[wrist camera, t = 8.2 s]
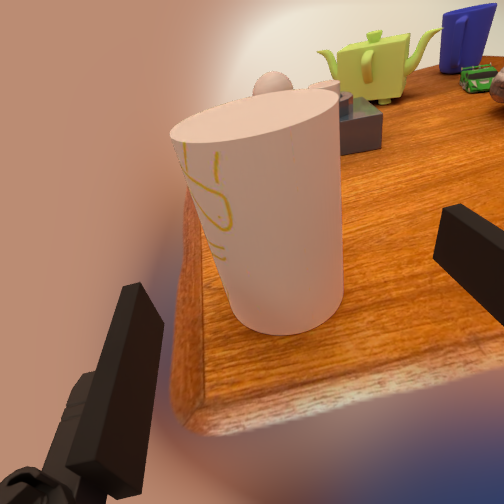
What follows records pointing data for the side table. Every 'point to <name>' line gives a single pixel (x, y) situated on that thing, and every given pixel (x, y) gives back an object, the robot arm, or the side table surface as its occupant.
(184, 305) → the side table surface
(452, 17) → the mug
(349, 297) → the side table surface
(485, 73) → the toy car
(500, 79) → the decorative stone
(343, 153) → the push button box
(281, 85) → the bath bomb
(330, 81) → the button
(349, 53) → the teapot
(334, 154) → the doodled pink cylinder
